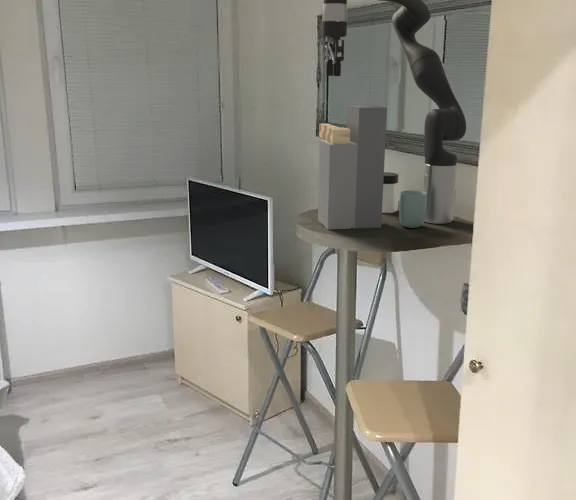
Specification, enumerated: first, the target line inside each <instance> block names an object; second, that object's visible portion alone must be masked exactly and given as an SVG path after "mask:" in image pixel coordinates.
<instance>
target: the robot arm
mask: <svg viewBox="0 0 576 500" xmlns="http://www.w3.org/2000/svg"><path fill="white" fill-rule="evenodd" d="M378 1H381V2H392V3H396V4H398V5H401V7H399V9H397V10H396V11H395V12H394V13H393V15H392V18H391V22H392V25H393V29H394V31H395V34H396V35H397V37H398V39H399V40H398V41H399V42H400V44H401V46H402V48H403V50H404V53H405V55H406V58H407V61H408V64H409V68H410V71H411V74H412V77H413V80H414V82H415V84H416V86H417V87H418V89H419V90H420V91H422V93H423V94H425V95H426V96H427V97H428V98H429V99H430V100H431V101H433V102H434V103H435V105H436V106H437V107H438V108H433V109H430V110H429V111H428V112H427V114H426V116H425V119H424V131H423V133H424V138H423V140H424V141H423V143H424V144H423V153H424V169H423V183H422V184H423V186H422V192H426V193H427V207H426V215H425V220H424V222H423V223H430V224H436V225H437V224H439V225H440V224H441V225H442V224H451V223H452V222H453V221H454V220H455V209H456V208H455V207H456V198H457V196H456V195H457V194H456V193H457V189H456V179H457V177H456V176H457V164H458V156H457V155H456V154H455V153H452V152H449V151H447V150H446V149H445V148H444V146H443V142H449V141H450V142H452V141H453V142H455V141H458V140H461V139H463V138H464V136H466V135H465V134H466V130H467V121H466V117H465V114H464V112H463V110H462V107H461V105H460V104H459V102H458V100H457V98H456V96H455V94H454V92H453V90H452V88H451V85H450V83H449V80H448V77H447V75H446V72H445V69H444V66H443V64H442V61H441V58H440V55H439V54H438V52H436V51H435V50H434V49H432V48H430V47H428V46H425V45H423V44H421V43H419V42H418V41H417V39H416V34H417V32H418V31H419V30H421V29H422V28H423V27H424V26H425V25H426V24H427V23H428V22H429V21H430V20H431V17H432V14H431V15H430V13H431V11H430V12H429V10H430V9H429V10H428V8H429V7H428V6H426V5H427V4H426V3H425V2H424V1H423V0H378ZM322 3H323V4H322V5H323V6H322V7H323V8H322V14H321V16H322V19H321V21H322V22H321V36H322V37H323V38H327V41H324V52H323V61H324V62H325V64H326V65H325V75H326V76H327V77H340V76H341V75H342V74H341V72H342V63H343V61H344V59H345V57H344V56H345V40H344V39H342V38H346V37H347V35H348V33H347V31H348V5H347V3H348V0H323V2H322Z"/></svg>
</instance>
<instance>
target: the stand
mask: <svg viewBox="0 0 576 500" xmlns="http://www.w3.org/2000/svg"><path fill="white" fill-rule="evenodd" d="M387 117H388V107H385V106H380V105H374V104H372V105H371V104H370V105H368V104H365V105H364V104H363V105H362V104H361V105H358V104H355V105H353V104H350V105H349V104H347V105H346V124H345V126H346V127H345V128H347V129H350V144H331V143H329V142H327V140H326V139H319V141H318V142H319V148H318V187H317V188H318V190H317V193H318V194H317V222H319V223H320V224H321V225H322V224H323V225H324V226H325V227H324V226H323V225H322V226H323V227H324V228H325V229H327V230H345V229H348V230H349V229H350V230H351V228H353V229H375V228H377V229H379V228H382V219H383V218H382V216H383V213H382V201H383V181H384V172H385V160H386V159H385V157H386V156H385V155H386V154H385V153H386V138H387V136H386V135H387V133H386V132H387Z"/></svg>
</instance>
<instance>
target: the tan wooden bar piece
mask: <svg viewBox="0 0 576 500" xmlns="http://www.w3.org/2000/svg"><path fill="white" fill-rule="evenodd" d="M318 125H319V126H318V137H319V138H321V139H322V140H327V142H329V143H331V144H350V129H347V128H346V127H340V126H336V125H333V124H329V123H327V122H326V123H319V124H318Z"/></svg>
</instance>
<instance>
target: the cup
mask: <svg viewBox="0 0 576 500" xmlns="http://www.w3.org/2000/svg"><path fill="white" fill-rule="evenodd" d="M426 207H427V193H426V192H423V190H422V191H421V190H402V191H399V199H398V217H399V222H400V225H402V226H403V227H404V228H407V229H408V228H410V229H416V228H420V227H422V225H424V223H425V222H424V220H425V215H426Z"/></svg>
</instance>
